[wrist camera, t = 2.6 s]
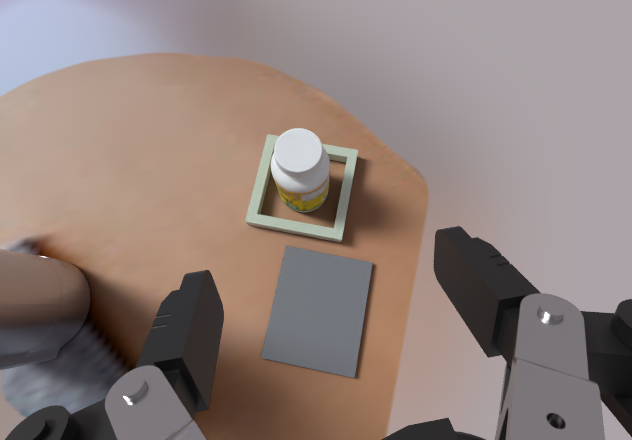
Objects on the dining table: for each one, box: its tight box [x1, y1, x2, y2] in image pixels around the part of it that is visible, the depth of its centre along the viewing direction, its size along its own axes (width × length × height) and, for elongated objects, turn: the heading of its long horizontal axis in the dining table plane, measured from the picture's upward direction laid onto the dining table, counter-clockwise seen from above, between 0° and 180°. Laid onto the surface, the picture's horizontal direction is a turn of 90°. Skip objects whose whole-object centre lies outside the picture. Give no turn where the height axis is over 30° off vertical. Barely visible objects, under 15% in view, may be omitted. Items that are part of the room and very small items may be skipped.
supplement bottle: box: [271, 128, 330, 212], centre depth 32 cm, size 5×5×10 cm
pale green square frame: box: [245, 134, 358, 243], centre depth 36 cm, size 10×10×2 cm
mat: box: [261, 246, 372, 378], centre depth 33 cm, size 11×9×1 cm
